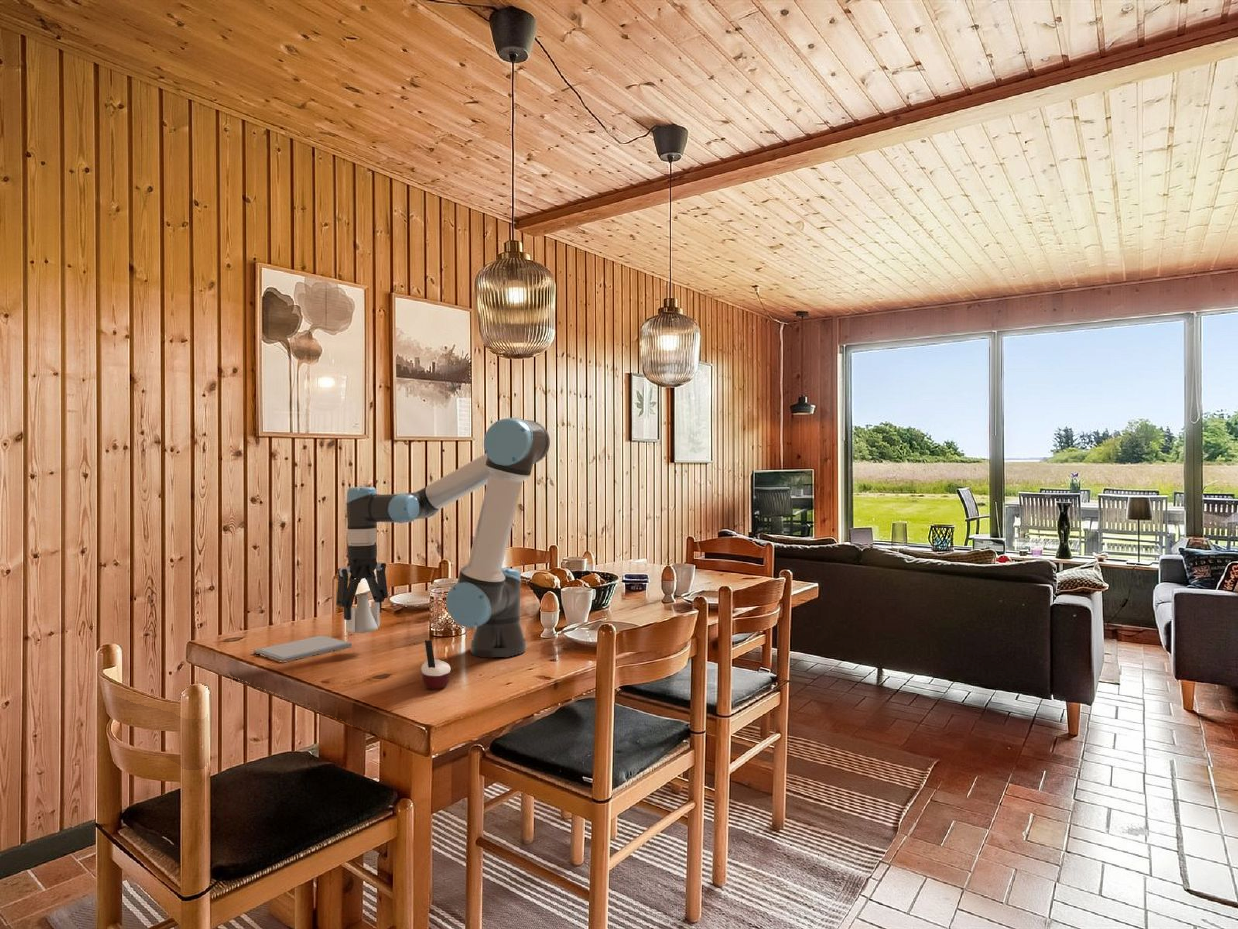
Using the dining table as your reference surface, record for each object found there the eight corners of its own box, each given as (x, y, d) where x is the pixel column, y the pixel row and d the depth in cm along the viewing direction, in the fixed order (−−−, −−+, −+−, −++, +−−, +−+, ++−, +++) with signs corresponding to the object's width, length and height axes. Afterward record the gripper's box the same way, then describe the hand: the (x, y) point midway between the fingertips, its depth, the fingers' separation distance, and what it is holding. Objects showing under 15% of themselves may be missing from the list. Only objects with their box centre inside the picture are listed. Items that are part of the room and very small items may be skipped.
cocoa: (439, 682, 169) (440, 631, 169) (459, 685, 165) (460, 634, 166) (409, 691, 160) (410, 638, 161) (429, 695, 157) (430, 641, 158)
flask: (383, 629, 192) (382, 592, 192) (363, 635, 185) (362, 597, 185) (363, 626, 195) (362, 590, 195) (343, 632, 189) (342, 595, 188)
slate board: (351, 646, 196) (351, 642, 196) (282, 663, 180) (282, 659, 180) (322, 638, 204) (322, 634, 204) (253, 653, 188) (253, 649, 188)
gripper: (384, 539, 201) (385, 619, 201) (320, 547, 184) (321, 634, 184) (401, 541, 196) (402, 623, 196) (337, 548, 180) (338, 638, 180)
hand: (363, 628), depth 190 cm, fingers closed on flask, 7 cm apart
